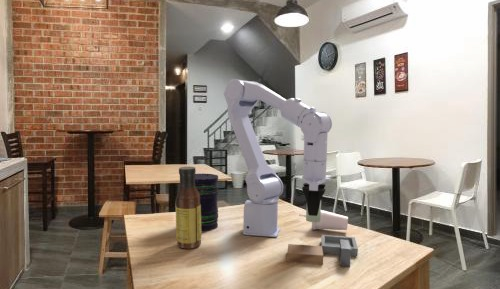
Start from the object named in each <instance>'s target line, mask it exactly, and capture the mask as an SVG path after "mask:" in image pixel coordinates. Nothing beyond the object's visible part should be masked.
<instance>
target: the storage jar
mask: <svg viewBox="0 0 500 289" xmlns="http://www.w3.org/2000/svg"><path fill="white" fill-rule="evenodd" d="M195 187H196V188H197V189H198V191H199V194H200V204H201V232H209V231H213V230H216V229H217V228H218V226H219V225H218V220H219V208H218V195H219V175H217V174H213V173H195Z"/></svg>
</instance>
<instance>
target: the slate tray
mask: <svg viewBox="0 0 500 289" xmlns="http://www.w3.org/2000/svg"><path fill="white" fill-rule="evenodd" d="M340 239H341V240H349V243H350V248H351V257H358V255H359V254H358V252H359V248H358V245H357V241H356V238H355V237H354V236H343V235H332V234H331V235H330V234H329V235H328V234H321V239H320V240H321V241H320V244H321V245H320V246H322V250H323V254H328V255H337V256H338V255H339V254H340Z"/></svg>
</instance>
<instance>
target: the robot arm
mask: <svg viewBox="0 0 500 289" xmlns="http://www.w3.org/2000/svg"><path fill="white" fill-rule="evenodd" d="M223 95H224V96H223V97H225V98H224V100H225V101H226V104H227V114H228V115H227V116H228V119H229V122H230V125H231V127H232V130H233V132H234V135H235V138H236V141H237V143H238V145H239V148H240V151H241V154H242V156H243V158H244V162H245V165H246V168H247V170H248V173H247V175H246V177H245V179H244V180H245V183H246V193H247V195H248V198H249V200H248V199H247V200H245V202H244V206H243V228H242V229H243V232H242V235H245V236H246V235H247V236H259V237H270V238H277V237H278V235H279V233H280V229H281V227H280V226H278V218H279V217H278V215H279V213H278V212H279V200H280V196H281V195H282V194H283V192H284V183H283V181H282V180H281V178H280V177H279V176H278V175H277V173H276V170H274V168H272V167H271V166H270V165H268V163H267V161H266V158H265V156H264V153H263V151H262V147H261V146H260V142H259V140H258V138H257V135H256V133H255V130H254V128H253V125H252V122H251V120H250V118H249V114H250V113H251V111H252V110H253V108H255V106H256V105H257V103H258V102H259V101H261V102H263V103H265V104H266V105H269V106H271V107H272V108H275V109H276V110H278V111H280V112H279V113H280V116H281V117H282V118H284V120H287V121H288V122H290V123H292V124H293V125H295V126H297V127H298V128H300V130H301V132H302V134H303V165H302V166H303V168H302V176H301V180H302V181H303V184H302V187H301V190H302V193H303V195H304V197H305V202H306V206H307V209H308V214H309V215H311V216H317V214H318V211H319V206H320V202H321V203H322V198H323V196H324V194H325V192H326V188H325V187H326V182H331V177H327V156H328V134H329V132H330V131H331V129H332V126H333V121H332V119H331V117H330V116H329V115H328V114H327V112H325V111H318V112H317V111H316V107H314V106H308V105H307V104H305V103H303V102H302V99H301V98H299V97H295V98H294V97H291V98H288V99H286V98H284V97H282V96H281V95H280V94H278V93H276V91H273V90H272V89H270V88H268V87H267V86H265V85H264V84H262V83H259V82H257V81H255V80H251V81H249V80H243V79H237V78H232V79H230V80H229V81H228V82H227V83H226V86H225V90H224V92H223Z"/></svg>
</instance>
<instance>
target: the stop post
mask: <svg viewBox="0 0 500 289" xmlns="http://www.w3.org/2000/svg"><path fill="white" fill-rule="evenodd" d="M351 257H352V256H351V248H350V243H349V240H341V239H340V254H339V264H340V267H346V268H351Z"/></svg>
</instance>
